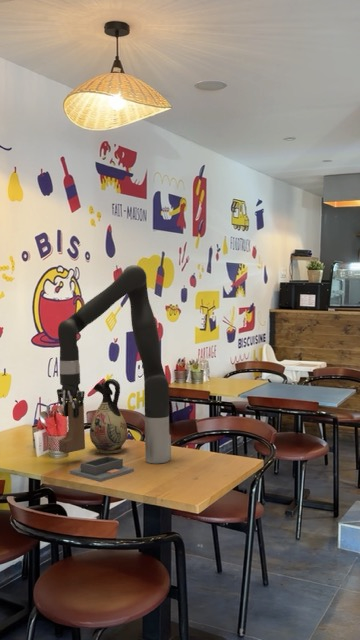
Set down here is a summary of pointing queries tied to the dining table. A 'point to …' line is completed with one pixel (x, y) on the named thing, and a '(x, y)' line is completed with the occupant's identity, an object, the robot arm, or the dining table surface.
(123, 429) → the ceramic jug
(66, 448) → the wooden block
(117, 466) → the pocket plate
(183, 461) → the dining table surface
